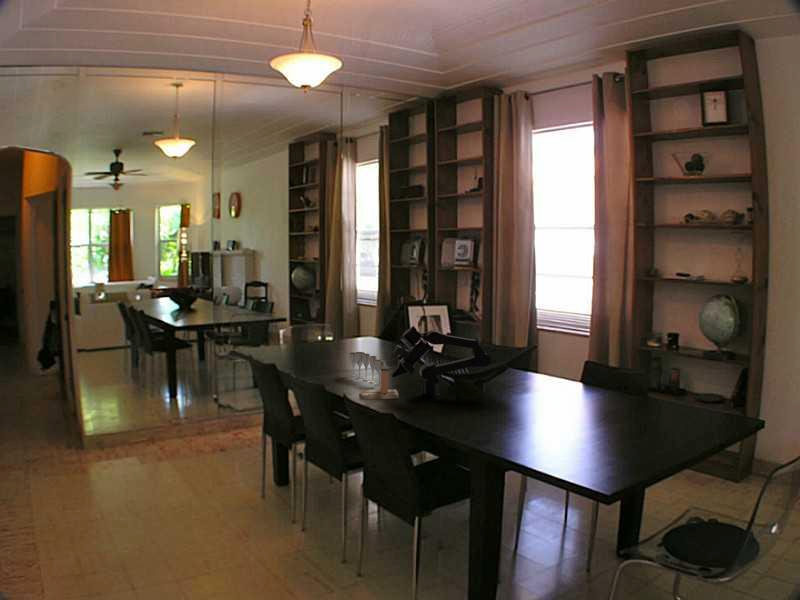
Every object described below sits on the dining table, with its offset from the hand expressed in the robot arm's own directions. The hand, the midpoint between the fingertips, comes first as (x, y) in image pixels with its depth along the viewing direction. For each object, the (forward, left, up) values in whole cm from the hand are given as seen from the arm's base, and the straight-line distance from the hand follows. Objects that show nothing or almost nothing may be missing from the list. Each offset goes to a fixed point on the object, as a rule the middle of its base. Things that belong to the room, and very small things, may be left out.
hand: (392, 376), depth 270 cm
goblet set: (+28, -14, -9) cm, 32 cm away
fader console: (+4, +4, -9) cm, 10 cm away
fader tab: (+2, +2, -7) cm, 8 cm away
